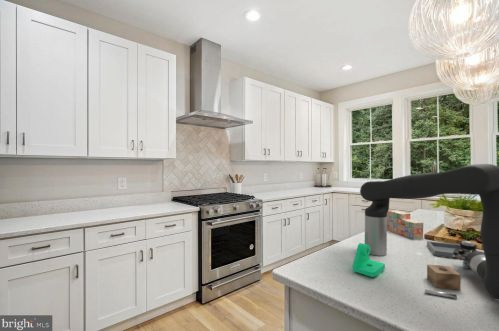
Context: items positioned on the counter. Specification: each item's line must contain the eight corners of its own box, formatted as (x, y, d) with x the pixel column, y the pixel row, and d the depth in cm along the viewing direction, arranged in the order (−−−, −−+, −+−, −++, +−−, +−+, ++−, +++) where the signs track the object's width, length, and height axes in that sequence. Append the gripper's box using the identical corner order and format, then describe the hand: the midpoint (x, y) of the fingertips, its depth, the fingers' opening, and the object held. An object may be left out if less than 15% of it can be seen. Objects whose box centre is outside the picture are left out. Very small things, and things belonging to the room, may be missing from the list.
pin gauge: (425, 294, 80) (425, 290, 80) (424, 292, 82) (424, 288, 82) (456, 299, 77) (456, 295, 77) (455, 297, 78) (455, 293, 78)
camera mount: (373, 280, 90) (373, 251, 90) (352, 273, 96) (352, 246, 96) (385, 270, 98) (385, 244, 98) (366, 264, 104) (366, 239, 104)
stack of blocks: (423, 239, 137) (423, 217, 137) (413, 240, 136) (413, 217, 136) (395, 229, 158) (395, 209, 158) (386, 229, 157) (386, 209, 157)
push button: (474, 271, 96) (474, 245, 96) (456, 267, 100) (456, 242, 100) (478, 267, 100) (478, 242, 100) (460, 263, 104) (460, 239, 104)
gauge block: (436, 287, 85) (436, 272, 85) (427, 277, 92) (427, 264, 91) (460, 289, 83) (460, 274, 83) (449, 280, 90) (449, 266, 90)
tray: (434, 256, 112) (434, 250, 112) (427, 245, 126) (427, 241, 126) (474, 261, 107) (474, 255, 107) (462, 249, 120) (462, 244, 120)
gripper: (511, 258, 84) (488, 243, 100) (458, 251, 90) (444, 238, 106) (511, 280, 84) (488, 262, 100) (458, 272, 90) (444, 256, 106)
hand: (465, 250), depth 103 cm, fingers closed on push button, 3 cm apart
